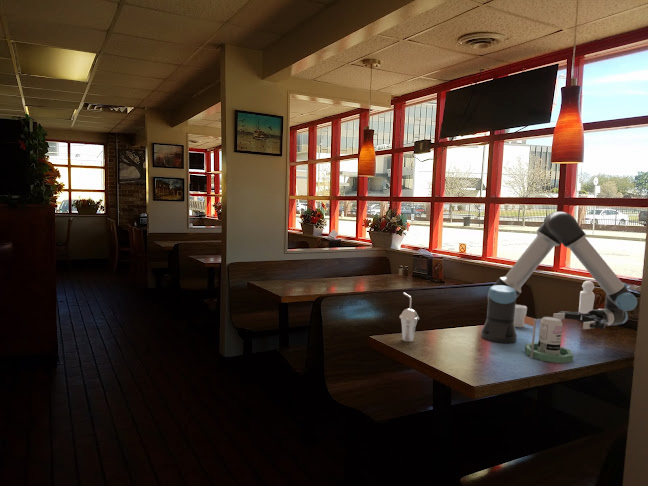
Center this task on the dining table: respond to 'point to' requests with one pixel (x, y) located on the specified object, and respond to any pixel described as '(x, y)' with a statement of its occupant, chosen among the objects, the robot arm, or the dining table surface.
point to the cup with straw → (408, 322)
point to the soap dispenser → (586, 297)
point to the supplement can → (550, 336)
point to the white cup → (519, 315)
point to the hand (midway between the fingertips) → (568, 321)
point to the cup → (533, 352)
